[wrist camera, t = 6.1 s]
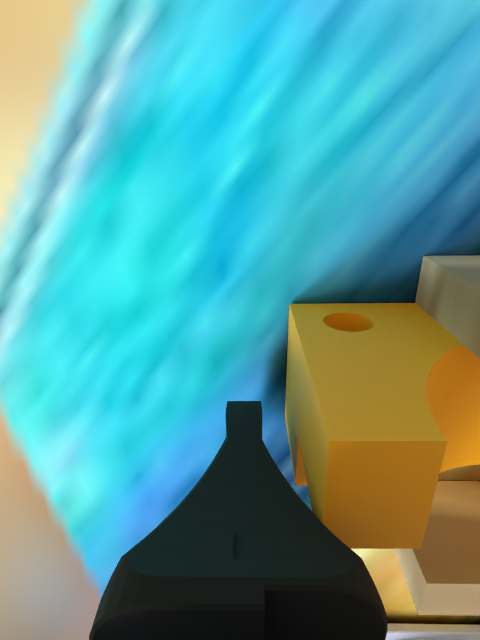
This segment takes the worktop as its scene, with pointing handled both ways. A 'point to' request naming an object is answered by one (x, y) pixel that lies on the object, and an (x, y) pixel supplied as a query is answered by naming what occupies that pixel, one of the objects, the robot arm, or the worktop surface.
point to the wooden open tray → (450, 496)
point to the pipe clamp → (377, 416)
